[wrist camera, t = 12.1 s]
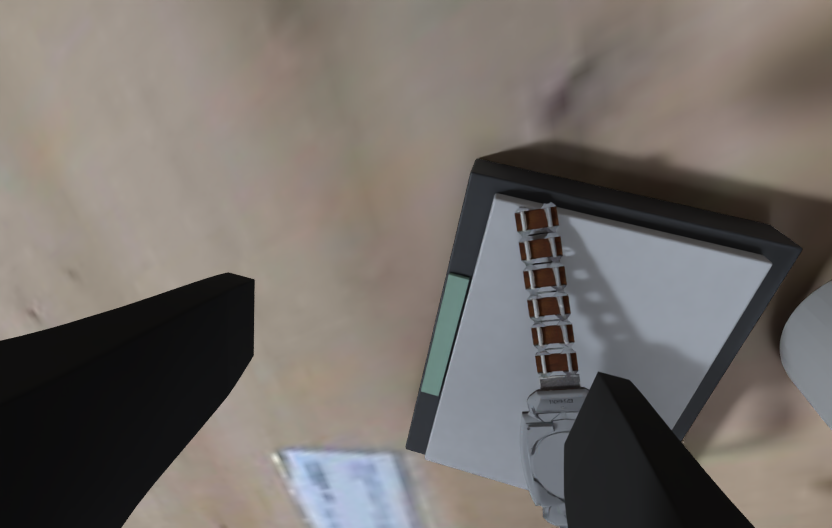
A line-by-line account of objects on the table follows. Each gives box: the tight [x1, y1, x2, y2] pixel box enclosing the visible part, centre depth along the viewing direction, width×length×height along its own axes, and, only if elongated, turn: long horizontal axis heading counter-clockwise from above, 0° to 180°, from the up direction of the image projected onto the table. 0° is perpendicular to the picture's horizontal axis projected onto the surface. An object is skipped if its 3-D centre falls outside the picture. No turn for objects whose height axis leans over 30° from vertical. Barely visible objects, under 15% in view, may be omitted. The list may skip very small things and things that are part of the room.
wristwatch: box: [515, 202, 589, 528], centre depth 17 cm, size 4×14×5 cm, turn 14°
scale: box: [406, 159, 802, 490], centre depth 19 cm, size 14×11×3 cm
